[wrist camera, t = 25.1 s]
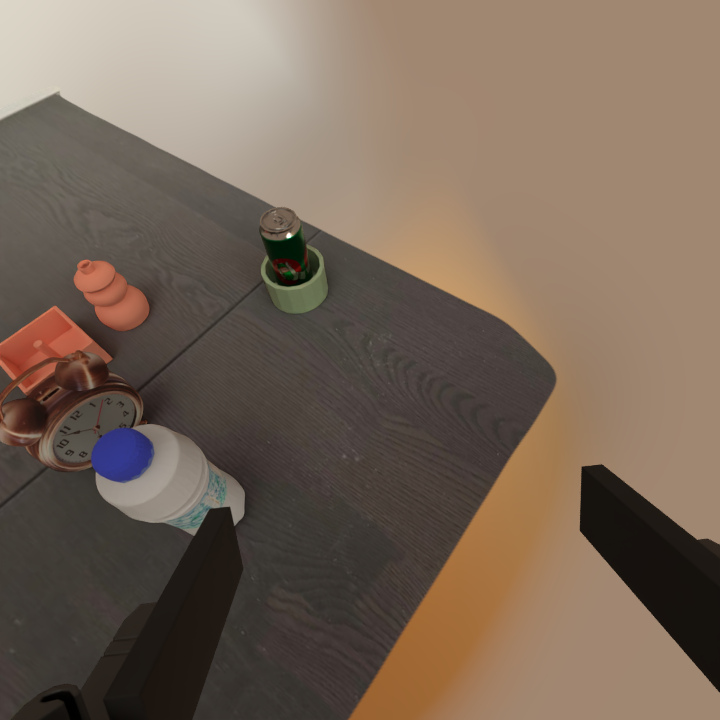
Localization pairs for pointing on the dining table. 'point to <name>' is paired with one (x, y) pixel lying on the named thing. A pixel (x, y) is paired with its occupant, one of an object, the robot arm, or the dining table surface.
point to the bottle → (162, 477)
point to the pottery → (73, 324)
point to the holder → (302, 295)
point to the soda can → (285, 246)
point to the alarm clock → (69, 411)
